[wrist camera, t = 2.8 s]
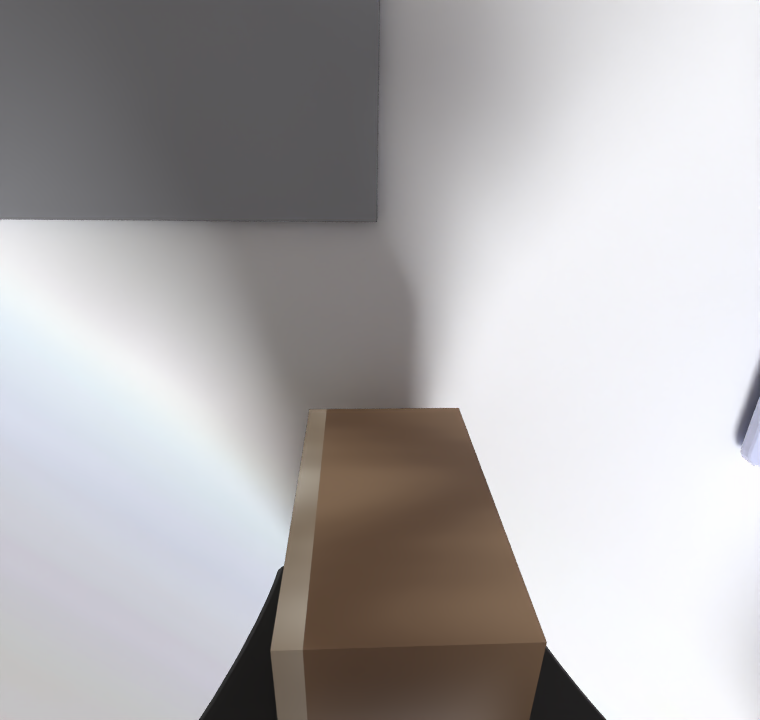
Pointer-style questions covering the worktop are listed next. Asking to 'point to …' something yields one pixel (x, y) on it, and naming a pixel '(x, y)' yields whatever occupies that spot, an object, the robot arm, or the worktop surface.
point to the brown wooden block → (400, 578)
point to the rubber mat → (189, 110)
